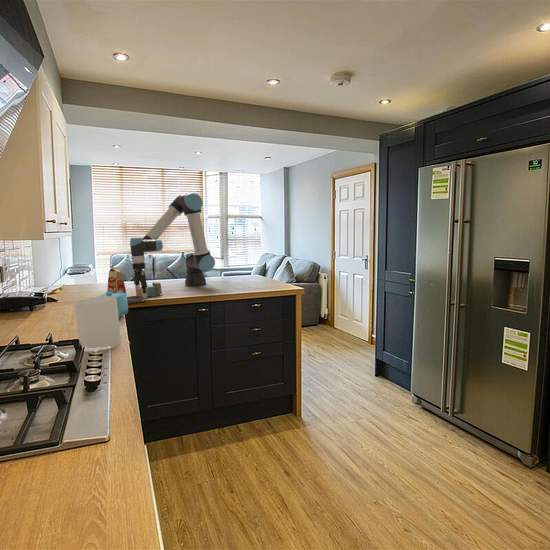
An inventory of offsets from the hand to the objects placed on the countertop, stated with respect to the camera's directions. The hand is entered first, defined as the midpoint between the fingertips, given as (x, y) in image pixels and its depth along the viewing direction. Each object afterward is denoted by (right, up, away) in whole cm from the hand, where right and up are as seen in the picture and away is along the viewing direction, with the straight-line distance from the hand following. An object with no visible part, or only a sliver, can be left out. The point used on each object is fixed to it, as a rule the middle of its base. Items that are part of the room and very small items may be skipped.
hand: (141, 296), depth 242 cm
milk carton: (-16, -1, +2) cm, 16 cm away
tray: (-1, -2, -13) cm, 13 cm away
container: (+16, -14, -92) cm, 94 cm away
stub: (0, 0, 0) cm, 0 cm away
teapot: (+4, -8, -51) cm, 52 cm away
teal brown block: (+6, +1, +4) cm, 8 cm away
